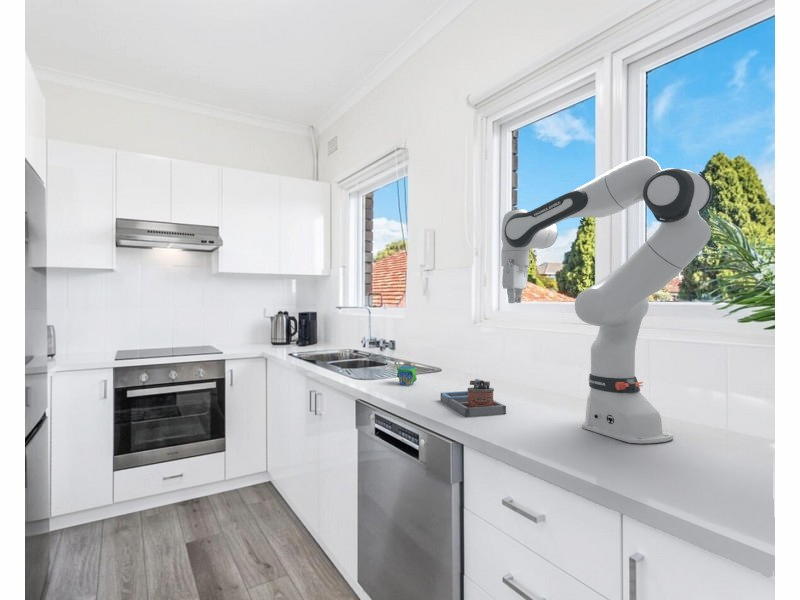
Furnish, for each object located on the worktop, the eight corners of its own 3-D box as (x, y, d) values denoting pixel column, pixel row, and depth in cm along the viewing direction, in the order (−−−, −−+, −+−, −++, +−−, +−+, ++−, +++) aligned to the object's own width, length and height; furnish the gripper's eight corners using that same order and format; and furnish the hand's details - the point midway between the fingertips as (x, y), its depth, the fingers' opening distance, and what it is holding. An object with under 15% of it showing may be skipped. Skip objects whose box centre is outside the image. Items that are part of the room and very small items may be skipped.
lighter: (493, 411, 141) (493, 379, 141) (494, 414, 138) (494, 381, 138) (467, 410, 142) (467, 379, 142) (467, 413, 139) (467, 381, 139)
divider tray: (508, 413, 138) (508, 390, 138) (466, 417, 134) (466, 393, 134) (477, 398, 159) (477, 378, 159) (440, 401, 156) (440, 380, 156)
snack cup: (422, 387, 180) (421, 368, 180) (405, 389, 177) (405, 370, 177) (408, 382, 190) (408, 365, 190) (391, 384, 187) (391, 366, 187)
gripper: (518, 258, 137) (517, 303, 137) (530, 262, 155) (530, 302, 155) (497, 258, 139) (497, 303, 140) (512, 263, 158) (512, 302, 158)
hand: (514, 303), depth 147 cm, fingers open, 8 cm apart
